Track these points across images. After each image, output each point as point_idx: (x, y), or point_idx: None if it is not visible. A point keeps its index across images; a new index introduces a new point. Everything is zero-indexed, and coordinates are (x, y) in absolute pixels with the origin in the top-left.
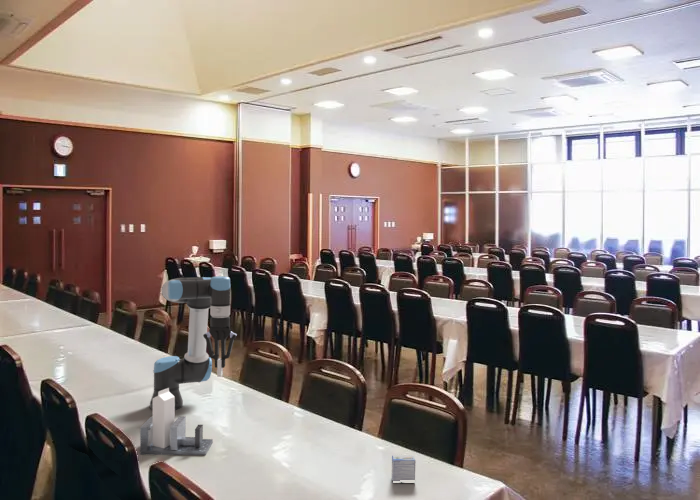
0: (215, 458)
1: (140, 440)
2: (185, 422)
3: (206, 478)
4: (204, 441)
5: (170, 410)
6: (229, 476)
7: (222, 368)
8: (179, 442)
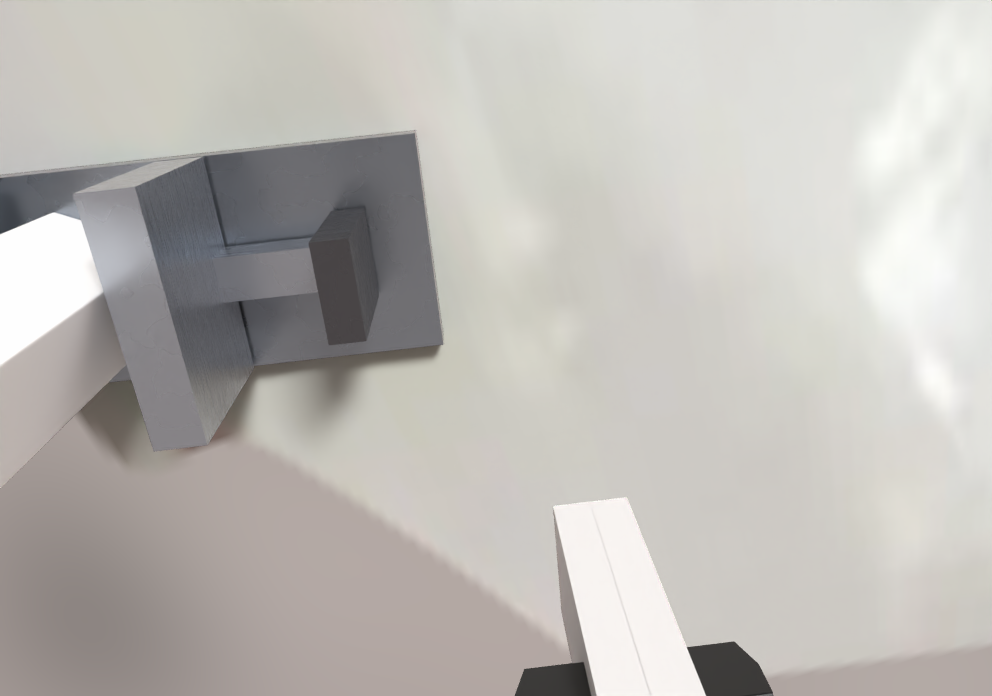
0: (519, 369)
1: None
2: (157, 179)
3: (546, 583)
4: (370, 185)
5: (27, 396)
6: (654, 550)
7: (661, 591)
8: (233, 324)
